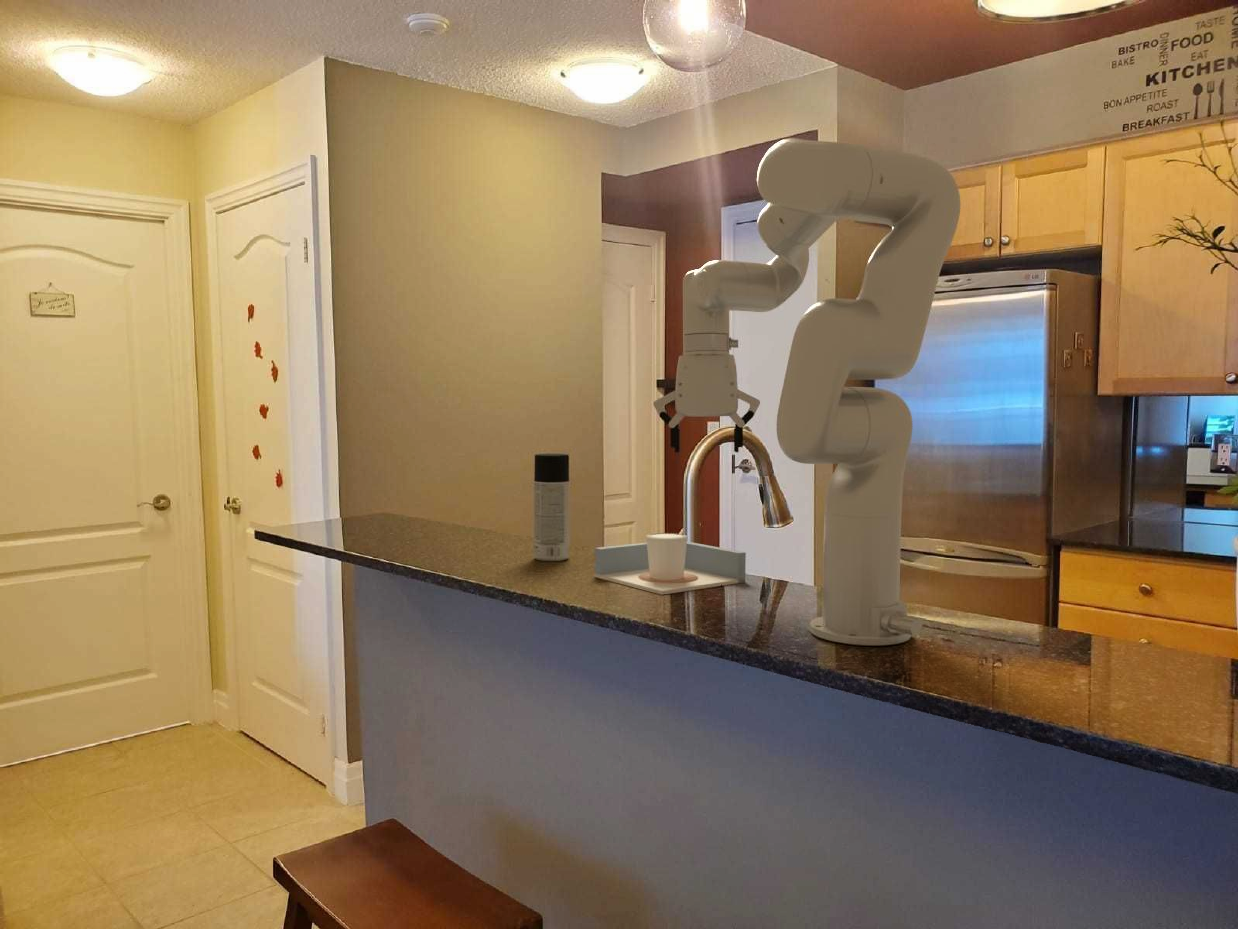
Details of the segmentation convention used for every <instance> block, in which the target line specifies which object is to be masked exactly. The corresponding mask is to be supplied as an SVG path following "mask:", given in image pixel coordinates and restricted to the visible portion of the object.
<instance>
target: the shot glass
mask: <svg viewBox="0 0 1238 929" xmlns="http://www.w3.org/2000/svg"><path fill="white" fill-rule="evenodd" d="M645 537H646V538H645V539H646V543H647V551H648V562H649V574H650V578H653V579H658V580H678V579H682V578H683V577H684V567H685V556H686V546H687V542H688V535H686V534H681V533H674V532H673V533H672V532H670V533H669V532H663V533H662V532H660V533H652V534H646V535H645Z"/></svg>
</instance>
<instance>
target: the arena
mask: <svg viewBox="0 0 1238 929" xmlns="http://www.w3.org/2000/svg"><path fill="white" fill-rule="evenodd" d="M746 558H747V553H746V551H740V550H735V549H729V548H723V547H718V546H713V545H708V544H703V543H702V544H701V543H697V542H692V541H687V546H686V556H685V567H684V577H683V578H682V579H678V580H658V579H653V578H650V574H649V562H648V551H647V542H640V543H631V544H630V543H629V544H620V545H619V544H618V545H611V546H600V547H594V577H595V578H597V579H602V580H605V581H608V582H612V583H617V584H620V585H624V586H628V587H631V588H635V589H639V590H643V591H646V592H649V593H650V592H651V593H654V594H658V595H662V596H664V595H667V594H669V595H670V594H677V593H682V592H689V591H697V590H701V589H702V590H703V589H710V588H716V587H721V585H722V587H723V586H729V585H734V584H735V585H736V584H742V583H746V563H747V562H746V560H747V559H746Z"/></svg>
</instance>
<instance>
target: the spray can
mask: <svg viewBox="0 0 1238 929" xmlns="http://www.w3.org/2000/svg"><path fill="white" fill-rule="evenodd" d="M533 482H534V483H533V484H534V485H533V486H534V488H533V492H534V494H533V495H534V497H533V498H534V499H533V500H534V502H533V506H534V507H533V508H534V510H533V511H534V514H533V517H534V518H533V520H534V521H533V523H534V527H533V528H534V529H533V531H534V534H533V535H534V538H533V540H534V543H533V544H534V545H533V548H534V549H533V551H534V552H533V554H534V555H533V556H534V559H535V560H536V561H541V562H560V561H561V562H563V561H565V560H568V559H569V556H570V456H569V454H567V453H537V454H535V455H534V480H533Z"/></svg>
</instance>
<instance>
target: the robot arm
mask: <svg viewBox="0 0 1238 929" xmlns="http://www.w3.org/2000/svg"><path fill="white" fill-rule="evenodd" d="M756 176H757V177H756V183H757V188H758V192H759V194H760V196H761V197H762V199H763V200H764V201H765V202H766V203H767V204H766V206H765V207H764V208H763V209H762V210H761V211H760V213H759V216H758V219H757V230H758V233H759V236H760V238H761V240H762V241H763V243H764V244H765V245H766V247H767V249H769V250H770V251H771V252H772V253H773V254H775V257H774V258H772V260H770V261H769V262H767V263H759V262H750V261H738V260H725V259H724V260H722V259H715V260H711V261H708V262H707V263H705V264H704V265H703V266H701V267H700V268H699V269H694V270H690V271H688V272H687V273H686V274H684V277H683V279H682V348H683V349H682V355H679V356H678V361H677V366H676V377H675V389H674V390H673V391H671V392H669V393H667V394H666V395H664V396H662V397H660V398H658V399H657V400H654V402H652V403H653V407H654V408H655V410H656V412H657V414H658V416H659V418H660V419H661V420H662V421H663V422H664V423H665V424H666V425H667V426H668V427H669V428H670V448H672V449H674V453H675V454H676V453H680V452H681V429H680V428H679V425H680V423H681V422H682V420H683V419H684V418H685V417H696V418H697V417H699V418H701V417H729V418H730V419H731V420H732V421H733V422H734V423H735V424H734V427H735V428H733V452H735V453H739V452H740V450H739V449H740V448H743V447H744V426H746V424H748V423H749V422H750V421H751V420H752V419H753V418H754V416H755V414H756V412H757V410H758V408H759V407H760V405H761V401H760V399H758V398H755V397H753V396H751V395H750V394H748V393H746V392H744V391H742V390H740V389H739V388H738V373H737V365H736V359H735V355H734V354H730V351H731V350H732V349H735V348H736V349H738V348H739V339H738V338H737V339H735V338H732V337H731V336H730V311H731V312H732V311H734V312H735V311H736V312H737V311H739V312H753V313H754V312H755V313H765V312H771V311H773V310H775V309H777V308H779V307H780V306H781V305H783V304H784V303H785V302H786V301H788V299H790V297H792V295H794V294H795V293H796V292H797V291H798V290H799V289H800V287H801V286H802V285H803V283H804V281H805V278H806V275H807V272H808V268H809V265H810V264H809V262H810V251H809V250H810V249H809V248H811V246H813V245H814V244H815V243H816V242H817V241H818V240H819V239H820V238H821V237H822V236H823V234H825V233H826V232H827V231H828V230H829V229H830V228H831V227H832V226H833V225H834V224H835V223H836V222H837V221H838V220H845V221H846V220H848V221H853V222H861V223H871V224H882V225H887V226H889V227H891V230H890V232H888V233H887V234H886V235H885V236H884V237H883V238H882V239H881V241H880V242H879V243H878V244H877V246H876V247H875V249H874V250H873V252H872V253H871V254H870V255H871V256H870V257H869V259H868V261H867V264H866V266H865V270H864V274H863V275H864V276H863V280H862V284H861V287H860V290H859V294H858V296H857V297H856V298H855V299H852V298H841V297H840V298H839V297H838V298H837V297H836V298H826V299H822V300H820V301H817V302H816V303H815V304H813V305H811V306H810V307H809V308H808V309H807V310H806V311H805V313H804V314H803V315H802V317H801V318H800V320H799V322H798V324H797V326H796V328H795V332H794V334H793V338H792V341H791V345H790V346H791V347H790V350H789V357H788V360H787V365H786V370H785V374H784V379H783V385H782V389H781V394H780V398H779V404H778V409H777V415H776V437H777V438H776V439H777V441H778V444H779V448H780V450H782V452H783V454H784V455H785V456H786V457H787V458H788V459H789V460H792V461H794V462H797V463H800V464H805V465H806V464H807V465H810V464H811V465H822V464H823V465H827V464H836V465H837V466H836V467H835V470H834V472H833V473H832V475H831V477H830V480H829V482H828V485H827V488H826V491H825V496H824V513H823V515H824V516H823V552H822V553H823V554H822V555H823V559H822V560H823V561H822V563H823V564H822V567H823V568H822V598H821V599H822V600H821V601H822V604H821V605H822V607H821V612H822V613H821V616H818V617H816V618H813V619H812V620H810V622H809V632H810V633H811V634H813V635H814V636H815V637H818V638H820V639H822V640H825V641H830V642H835V643H841V644H847V645H853V646H854V645H855V646H873V647H874V646H890V645H891V646H892V645H898V644H901V643H905V642H908V641H909V640H911V638H912V636H917V635H919V633H920V631H921V628H922V627H923V626H924V618H922V617H919V616H914V615H908V613H907V603H906V602H901V601H900V586H901V585H900V584H901V583H900V582H901V581H900V580H901V579H900V578H901V575H900V573H901V549H902V548H901V545H902V543H901V542H902V538H901V537H902V514H903V513H902V512H903V510H902V509H903V487H904V477H905V476H904V475H905V470H906V464H907V463H906V462H907V458H908V454H909V449H910V445H911V440H912V437H913V436H912V435H913V417H912V412H911V410H910V407H909V406H908V405H907V403H906V402H905V400H904V399H902V397H900V396H899V395H898V394H896V393H895V392H892V391H890V390H887V389H883V388H879V387H867V386H845V384H846V381H847V380H867V381H868V380H870V381H871V380H873V381H874V380H875V381H876V380H877V381H879V380H880V381H881V380H893V379H895V380H896V379H898V378H902V377H904V376H906V375H907V374H909V373H910V372H911V370H913V368H914V366H915V364H916V362H917V360H918V357H919V354H920V351H921V347H922V344H923V340H924V336H925V332H926V329H927V324H928V321H929V318H930V314H931V309H932V305H933V302H934V298H935V293H936V288H937V284H938V280H939V277H940V273H941V269H942V268H943V265H944V262H945V259H946V257H947V255H948V252H949V250H950V247H951V245H952V243H953V241H954V240H953V239H954V237H955V236H956V231H957V228H958V225H959V224H958V223H959V220H960V214H961V196H960V192H959V188H958V184H957V182H956V179H955V178H954V176H953V175H952V174H951V172H950V171H949V170H948V169H946V167H944V166H943V165H942V164H940V163H938V162H937V161H935V160H932V159H930V158H927V157H924V156H922V155H917V154H913V153H909V152H903V151H898V150H891V149H884V148H883V149H882V148H877V147H871V146H866V145H860V144H852V143H846V142H837V141H822V140H808V139H802V138H796V137H789V138H784V139H781V140H780V141H778V142H776V143H775V144H773V145H772V146H771V147H770V148H769V149H768V150H767V151H766V153H765V154H764V156H763V157H762V159H761V161H760V163H759V166H758V169H757V175H756ZM739 400H740V401H743V402H745V403H746V404H749V408H748V409H747V412H746V413H745V414H744V415H743V416H742V417H741V416H740V415H739V413H737V412H738V408H739ZM672 401H674V402H675V403H674V405H675V407H674V408H675V412H676V413H675V415H674V416H672V417H671V416H670V415H669V414H668V413H667V411H666V409H665V405H667V404H669V403H671V402H672Z"/></svg>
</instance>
